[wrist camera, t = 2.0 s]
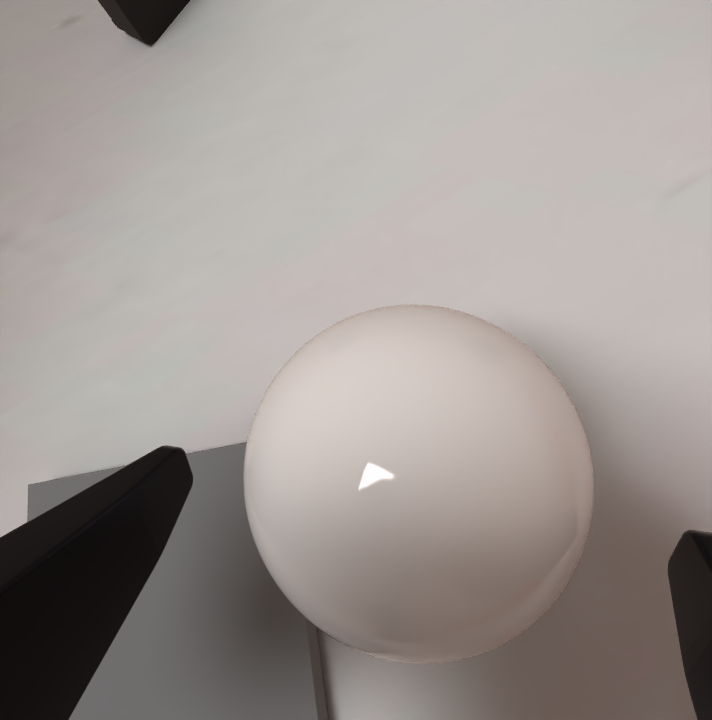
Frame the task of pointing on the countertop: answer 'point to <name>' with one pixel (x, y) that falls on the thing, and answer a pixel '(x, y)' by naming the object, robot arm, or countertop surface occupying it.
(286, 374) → the lightbulb
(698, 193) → the countertop surface
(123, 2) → the ink cartridge
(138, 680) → the grey flat plate
